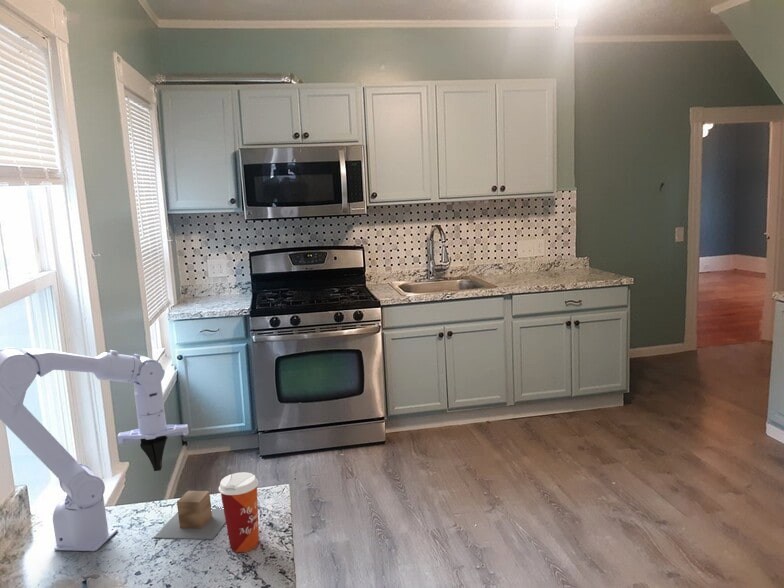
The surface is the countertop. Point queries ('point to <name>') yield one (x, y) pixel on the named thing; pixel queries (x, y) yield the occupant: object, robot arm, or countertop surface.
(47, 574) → the countertop surface
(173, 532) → the slate mat
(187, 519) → the walnut block
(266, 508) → the countertop surface
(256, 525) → the paper cup
